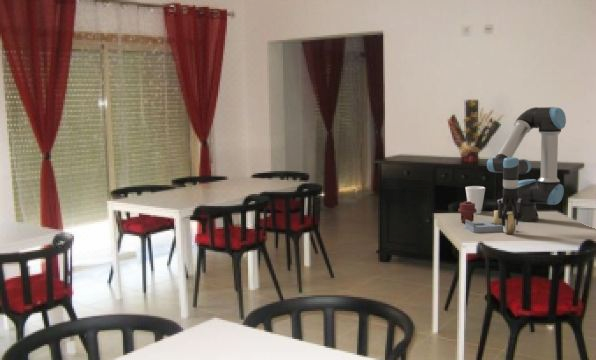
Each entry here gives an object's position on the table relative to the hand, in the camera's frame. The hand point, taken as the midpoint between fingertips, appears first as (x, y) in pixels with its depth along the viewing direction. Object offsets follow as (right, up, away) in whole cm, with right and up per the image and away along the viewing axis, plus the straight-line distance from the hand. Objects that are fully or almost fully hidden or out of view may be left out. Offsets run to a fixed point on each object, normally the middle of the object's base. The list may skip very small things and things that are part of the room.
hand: (509, 231), depth 327 cm
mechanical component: (-14, +2, +29) cm, 33 cm away
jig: (-7, 0, +11) cm, 13 cm away
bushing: (0, -1, 0) cm, 1 cm away
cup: (-1, +6, +60) cm, 60 cm away
